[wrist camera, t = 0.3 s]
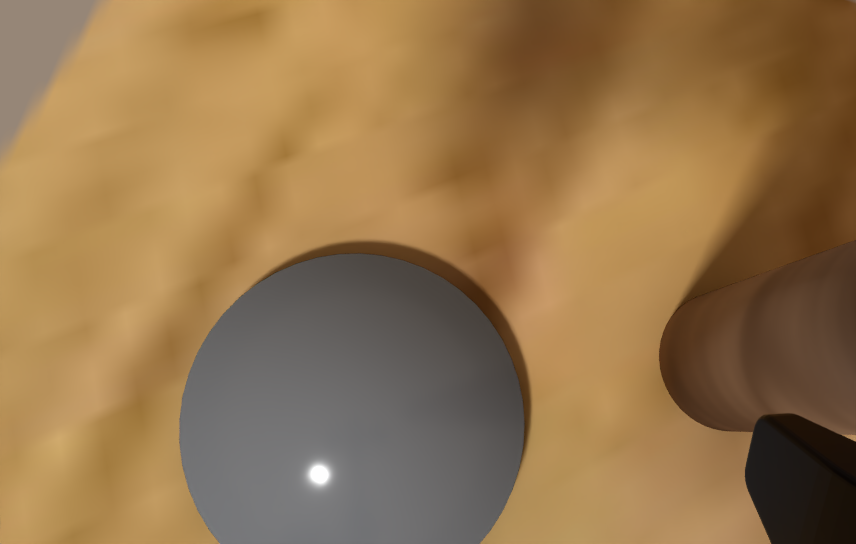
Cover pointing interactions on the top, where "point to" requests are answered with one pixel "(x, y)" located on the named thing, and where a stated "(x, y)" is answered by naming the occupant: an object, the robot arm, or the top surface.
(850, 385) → the pepper mill
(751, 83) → the top surface
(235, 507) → the slate coaster
